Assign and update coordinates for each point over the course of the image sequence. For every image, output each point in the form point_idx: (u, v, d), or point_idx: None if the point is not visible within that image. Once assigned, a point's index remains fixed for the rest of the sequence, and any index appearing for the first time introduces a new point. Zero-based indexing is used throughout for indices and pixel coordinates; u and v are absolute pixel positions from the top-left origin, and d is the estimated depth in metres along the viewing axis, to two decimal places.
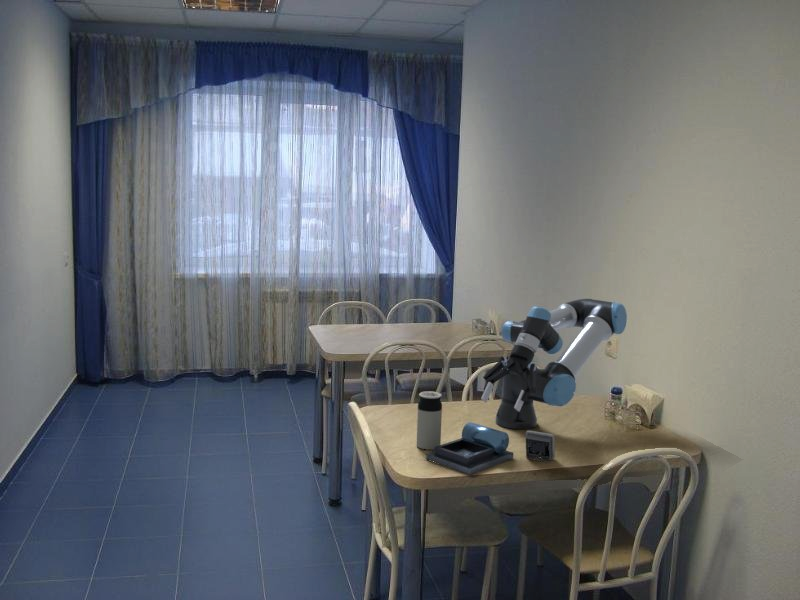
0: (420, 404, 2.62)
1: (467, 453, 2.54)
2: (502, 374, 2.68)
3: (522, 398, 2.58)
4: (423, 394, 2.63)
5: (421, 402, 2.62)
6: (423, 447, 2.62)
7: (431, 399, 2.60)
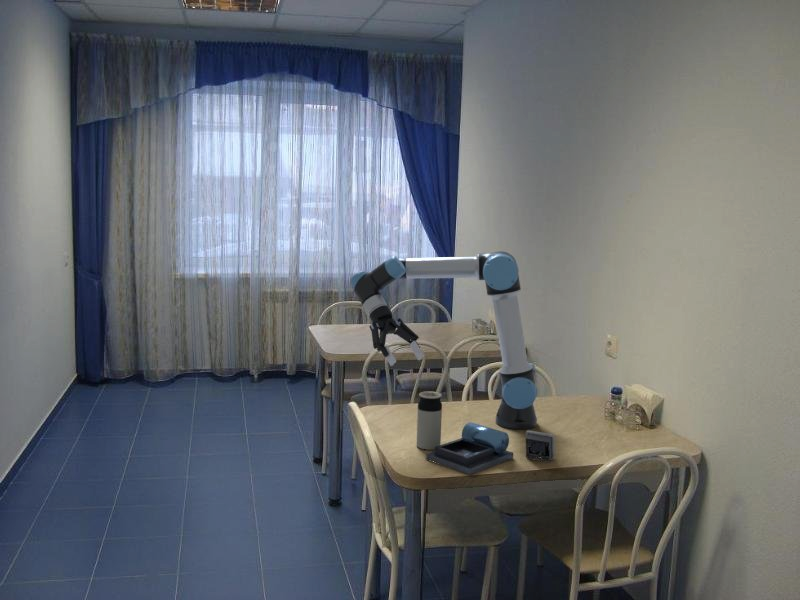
0: (420, 404, 2.62)
1: (467, 453, 2.54)
2: (400, 334, 2.76)
3: None
4: (423, 394, 2.63)
5: (421, 402, 2.62)
6: (423, 447, 2.62)
7: (431, 399, 2.60)
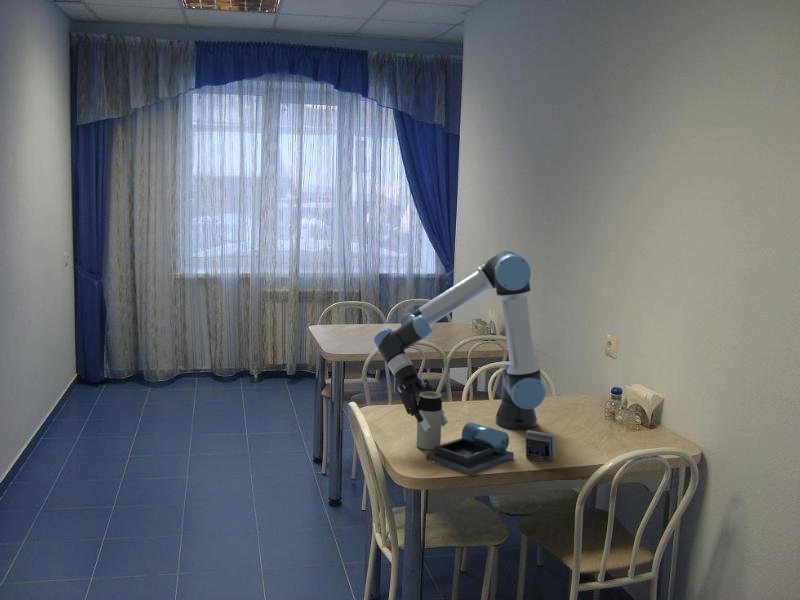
0: (420, 404, 2.62)
1: (467, 453, 2.54)
2: None
3: None
4: (423, 394, 2.63)
5: (421, 402, 2.62)
6: (423, 447, 2.62)
7: (431, 399, 2.60)
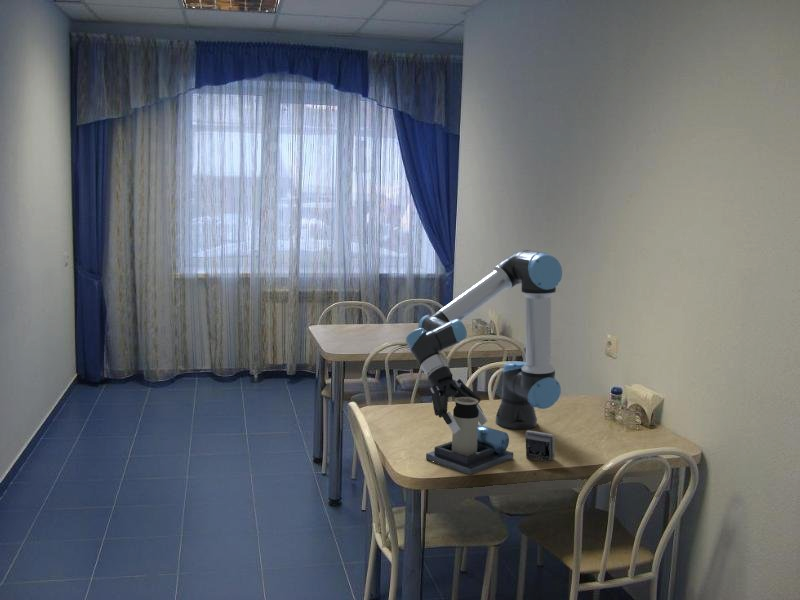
0: (456, 410, 2.48)
1: None
2: None
3: None
4: (459, 400, 2.49)
5: (457, 408, 2.49)
6: None
7: (468, 405, 2.47)
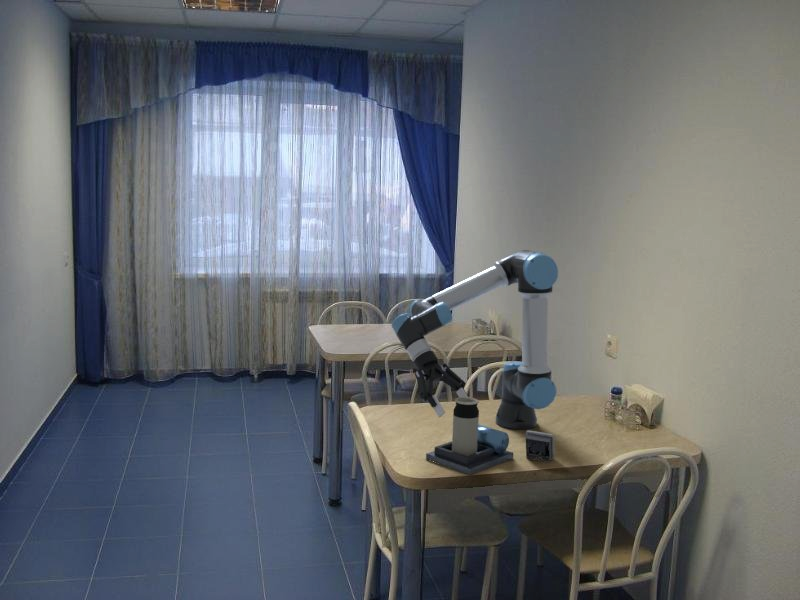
0: (456, 410, 2.49)
1: None
2: (447, 381, 2.59)
3: None
4: (459, 400, 2.49)
5: (457, 408, 2.49)
6: None
7: (468, 405, 2.47)
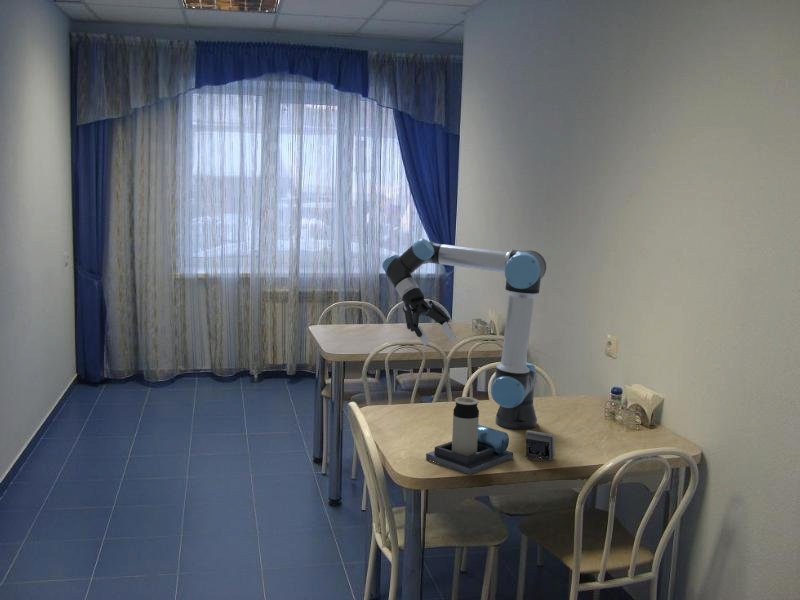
0: (456, 411, 2.48)
1: None
2: (432, 315, 2.84)
3: None
4: (459, 400, 2.49)
5: (457, 408, 2.48)
6: None
7: (468, 405, 2.47)
